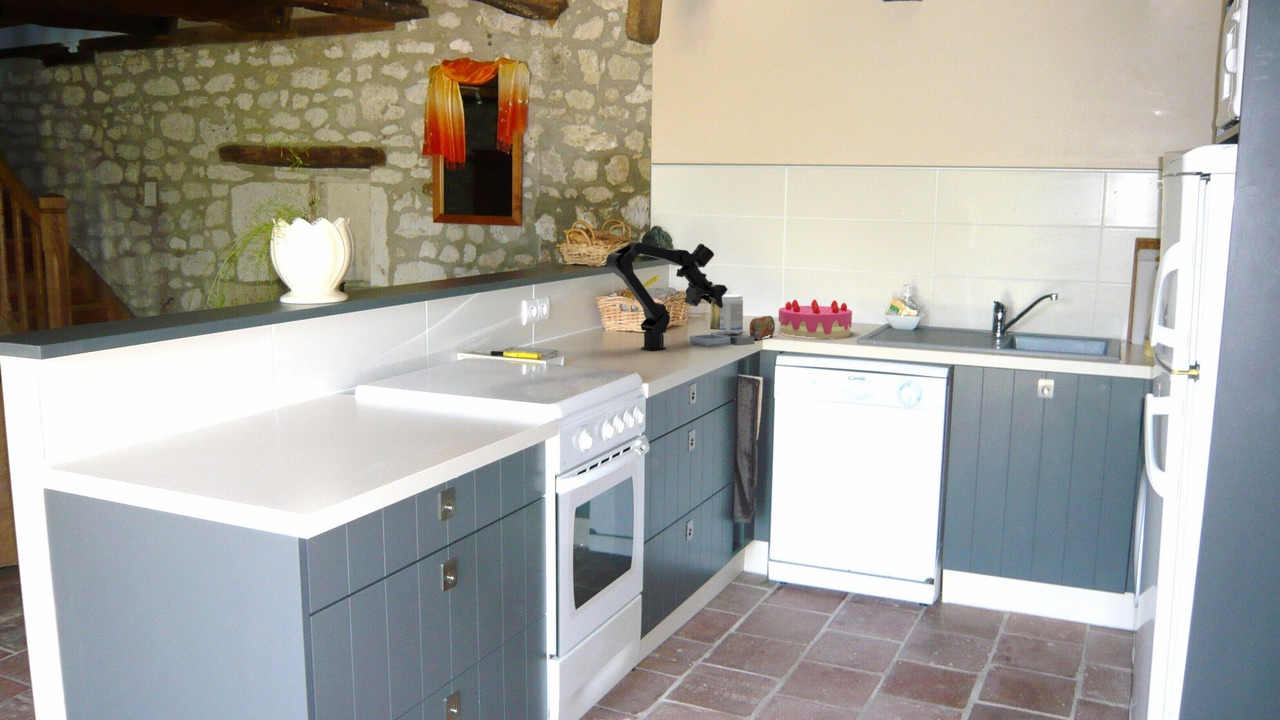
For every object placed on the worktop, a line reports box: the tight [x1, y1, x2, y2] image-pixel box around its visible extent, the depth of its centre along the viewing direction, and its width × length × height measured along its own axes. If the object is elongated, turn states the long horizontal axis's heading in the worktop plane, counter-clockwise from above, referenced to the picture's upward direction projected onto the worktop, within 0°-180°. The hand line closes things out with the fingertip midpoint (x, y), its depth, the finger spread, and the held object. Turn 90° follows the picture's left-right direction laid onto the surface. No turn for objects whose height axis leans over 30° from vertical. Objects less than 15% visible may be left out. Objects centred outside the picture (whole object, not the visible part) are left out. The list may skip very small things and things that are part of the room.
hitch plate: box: [710, 331, 756, 346], centre depth 369 cm, size 8×16×2 cm, turn 32°
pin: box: [709, 283, 721, 331], centre depth 363 cm, size 5×5×16 cm
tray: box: [689, 333, 731, 348], centre depth 364 cm, size 11×11×2 cm
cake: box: [778, 299, 853, 339], centre depth 389 cm, size 28×28×12 cm
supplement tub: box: [717, 293, 744, 334], centre depth 391 cm, size 10×10×15 cm
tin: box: [749, 315, 776, 341], centre depth 377 cm, size 15×3×8 cm, turn 143°
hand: (718, 306), depth 364 cm, fingers closed on pin, 4 cm apart
